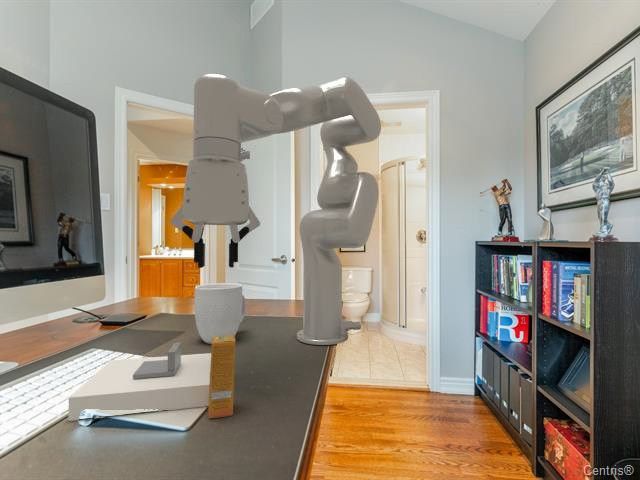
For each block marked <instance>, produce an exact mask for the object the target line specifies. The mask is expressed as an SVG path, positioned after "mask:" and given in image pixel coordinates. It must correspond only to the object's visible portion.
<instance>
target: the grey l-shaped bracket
mask: <svg viewBox="0 0 640 480" xmlns="http://www.w3.org/2000/svg"><path fill="white" fill-rule="evenodd" d="M181 355H182V341H181V342H180V341H179V342H174V343H173V344H172V346H171V347H170V348H169V350H168V351H167V356H168V360H157V361H144V362H143V363H142V365H141V366H140V367H139V368H138V369H137V371H136V372H135V373H134V374H133V379H138V378H150V377H161V376H173V375H175V373H176V371H177V369H178V367H179V365H180V363H181Z"/></svg>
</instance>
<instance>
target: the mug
mask: <svg viewBox="0 0 640 480" xmlns="http://www.w3.org/2000/svg"><path fill="white" fill-rule="evenodd" d="M193 304H194V319H195V325H196V329H197V332H198V334H199V336H200V338H201V339H202V341H203V342H204V343H206V344H210V345H212V338H213V337H212V336H220V335H233V336H235V337H236V334H237V332H238V330H239V327H240V324H241V323H242V321H243V320H244V318H245V316H246V312H247V299H246V298H245V296H244V295H243V285H242V284H240V283H232V282H231V283H229V282H223V283H222V282H220V283H218V282H217V283H206V284H205V283H204V284H198V285H195V287H194V303H193Z"/></svg>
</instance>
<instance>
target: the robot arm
mask: <svg viewBox="0 0 640 480" xmlns="http://www.w3.org/2000/svg"><path fill="white" fill-rule="evenodd" d="M193 87H194V88H193V137H192V139H193V142H192V143H193V145H192V146H193V148H192V151H193V152H192V153H193V154H192V159H190V160H189V161H188V164H187V168H186V174H185V178H184V179H185V181H184V189H183V199H182V205H180V207H179V209H178V210H177V211H176V212H175V214H174V215H173V216H172V218H171V219H170V222H169V223H170V224H171V226H173V227H175V228H177V229H178V230H180V231H181V232H183V233H184V234H185V235H186V236H187V237H188V238H189V239H190V240H191V241H192V242H193V251H194V252H193V262H194V263H195V264H196V263H197V269H202V268H204V267H205V266H206V264H205V263H206V262H205V261H206V243H204V239H203V237H204V236H203V235H204V231H205V227H206V225H207V226H208V225H209V226H211V225H212V226H229V229H230V234H231V239H230V242H229V244H228V267H229V268H230V269H231V268H234V267H235V266H234V265H235V263H239V242H241V240H243V238H245V237H246V236H247V235H248V234H249V233H251V232H252V231H254V230H255V229H257V228H259V227H260V225H261V222H260V220H259V218H258V217H257V216H256V214H255V213H254V211H253V209H252V208H251V206H250V200H249V183H248V182H249V181H248V175H247V169H246V168H247V167H246V166H245V164H244V163H242V162H243V161H245V160H250V159H251V157H250V156H251V152H250V151H249V150H246V149H244V148H243V147H242V144H243V143H246V142H250V141H254V140H259V139H263V138H267V137H271V136H273V135H278V134H286V133H290V132H295V131H298V130H302V129H306V128H309V127H312V126H316V125H319V124H321V127H320V133H319V136H320V140H321V143H322V146H323V150H324V152H325V156H326V162H327V163H326V168H325V170H324V174H323V176H322V179H321V183H320V185H319V187H318V191H317V195H316V200H317V201H316V202H317V205H318V207H320V209H315V210H312V211H309V212H307V213H306V214H305V215H303V217H302V218H301V219H300V222H299V228H298V229H299V236H300V237H299V238H300V242H301V248H302V255H303V257H302V258H303V278H302V279H303V282H302V283H303V286H302V287H303V290H302V291H303V298H302V299H303V301H302V303H303V304H302V306H303V310H302V311H303V313H302V316H303V319H302V320H303V321H302V324H303V325H302V326H303V327H302V329H301V330H299V331H297V332H296V339H297V340H298V341H299V342H301V343H304V344H308V345H313V346H315V345H316V346H332V345H339V344H342V343H344V342H346V341H347V340H348V339H349V333H348V332H349V330H354V331H357V330H361V329H362V323H361V322H360V321H353V320H345V319H344V318H343V290H342V289H343V267H342V265H343V264H342V262H341V259H340V257H339V256H338V254H337V252H336V251H335V249H359V248H361V247H364V246H365V245H366V243H367V242H368V241H369V239H370V238H369V237H370V235H371V231H372V227H373V223H374V219H375V215H376V212H377V207H378V202H379V185H378V181H377V179H376V178H375V176H374V175H373V174H371V173H370V172H366V171H359V170H358V168H359V167H358V162H357V160H356V159H355V157H353V155H352V154H351V152H349V151H348V150H347V148H346V147H350V146H355V145H357V146H358V145H361V144H367V143H370V142H373V141H375V140H376V139H378V137H379V136H380V134H381V131H382V122H381V117H380V115H379V114H378V111H377V110H376V108H375V106H374V105H373V104H372V102H371V100H370V99H369V97H368V96H367V94H366V93H365V91H364V90H363V89H362V87H361V86H360V85H359V84H358V82H357V81H355V80H354V79H353V78H351V77H348V76H343V77H339V78H337V79H334V80H331V81H328V82H325V83H321V84H317V85H316V84H315V85H310V86H301V87H300V86H299V87H292V88H291V87H289V88H286V89H283V90H280V91H276V92H274V93H272V94H268V93H266V92H262V91H259V90H256V89H253V88H249V87H246V86H244V85H243V86H242V85H240V84H239V83H238V82H237V81H235V80H234V79H232V77H231V78H230V77H229V76H226V75H223V74H218V73H217V74H216V73H208V74H203V75H200V76H199V77H198V78H197V79H196V80H195V82H194V86H193ZM184 220H185V221H187V222H189V223H191V224H194V227H193V228H192V227H191V226H190V225H188V224H186V223H185V222H184ZM248 221H249V223H247V222H248ZM246 223H247V225H245V226H242V228H241V229H240V230H239V228H238V226H240V225H244V224H246Z"/></svg>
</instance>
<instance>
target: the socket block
mask: <svg viewBox="0 0 640 480" xmlns="http://www.w3.org/2000/svg"><path fill="white" fill-rule="evenodd" d="M157 360H168V355H166V356H153V357H137V358H126V359H125V358H122V359H113V360H112V359H111V360H110V361H108V362H107V364H105V365H104V366H103V367H102V368H100V370H99V371H97V372H96V373H95V374H94V375H93V376H92V377H91V378H89V379H88V380H87V381H86V382H85V383H84V384H83V385H82V386H80V387H79V388H78V389H77V390H76V391H75V392H73V393H72V394H71V395H70V396H69V397H68V412H67V413H68V415H67V417H68V418H67V420H68V422H73V421H75V422H76V421H80V420H79V416H80V413H81V411H83V410H85V409H100V410H134V409H135V410H136V409H144V410H145V409H148V410H149V409H153V410H155V409H158V410H168V411H175V410H184V409H185V410H186V409H194V408H203V407H204V408H205V407H209V382H210V366H211V352H209V353H195V354H193V353H192V354H181V363H180V365H179V367H178V369H177V371H176V373H175V375H173V376H161V377H150V378H138V379H133V374H134V373H135V372H136V371H137V369H138V368H139V367H140V366H141V365H142V363H143V362H144V361H157ZM103 418H104V417H99V416H96V417H95V418H94V419H103Z"/></svg>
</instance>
